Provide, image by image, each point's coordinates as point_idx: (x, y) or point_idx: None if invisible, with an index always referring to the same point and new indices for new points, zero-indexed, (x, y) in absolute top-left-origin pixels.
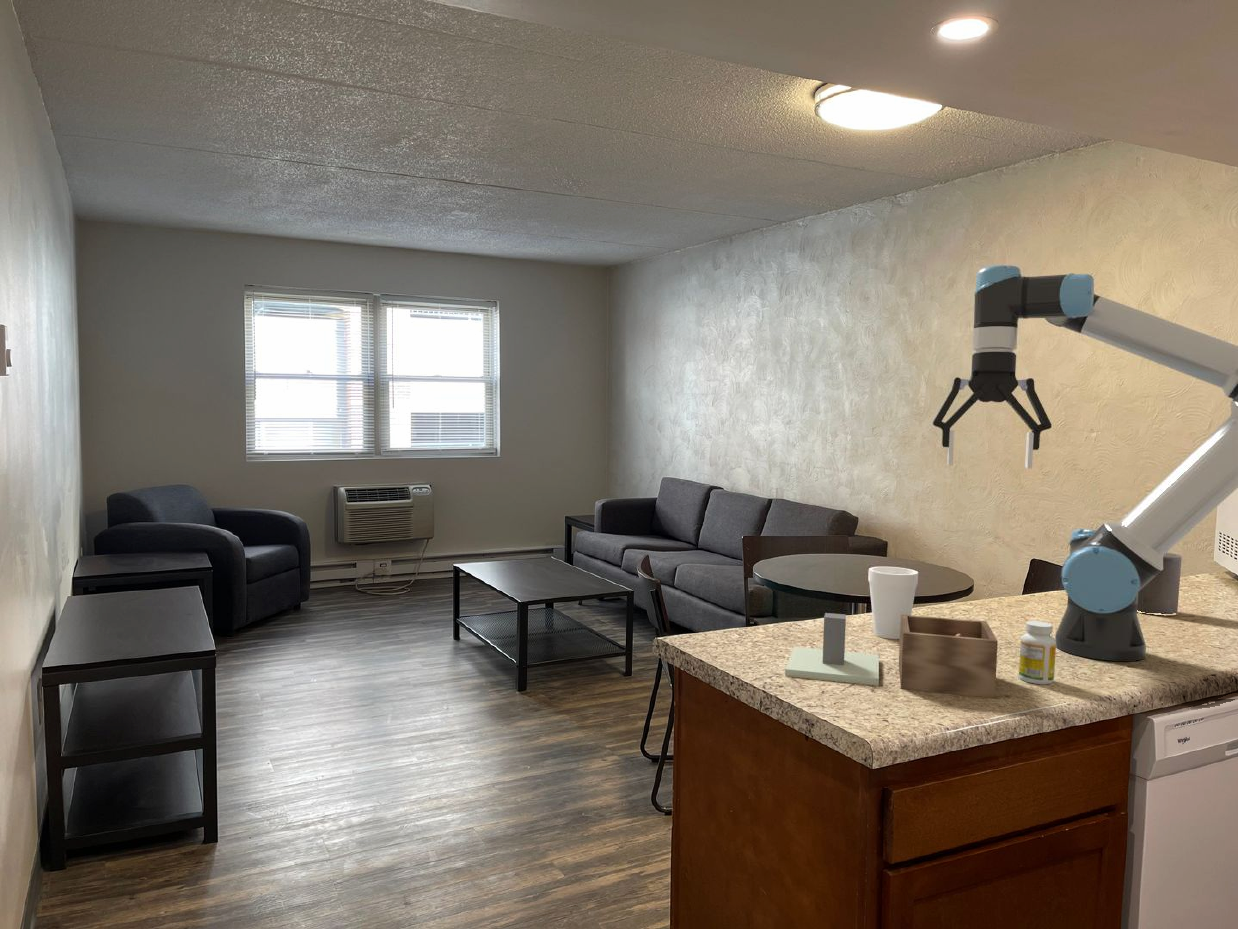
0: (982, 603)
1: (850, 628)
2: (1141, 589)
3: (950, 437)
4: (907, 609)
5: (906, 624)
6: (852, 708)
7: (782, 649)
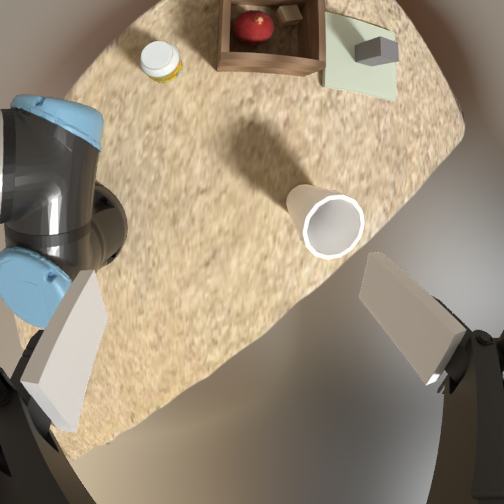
0: (197, 372)
1: None
2: None
3: (444, 310)
4: (300, 195)
5: (320, 21)
6: None
7: (400, 112)
